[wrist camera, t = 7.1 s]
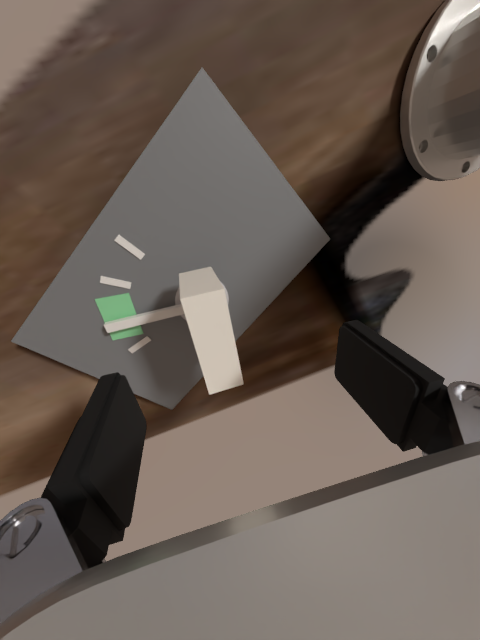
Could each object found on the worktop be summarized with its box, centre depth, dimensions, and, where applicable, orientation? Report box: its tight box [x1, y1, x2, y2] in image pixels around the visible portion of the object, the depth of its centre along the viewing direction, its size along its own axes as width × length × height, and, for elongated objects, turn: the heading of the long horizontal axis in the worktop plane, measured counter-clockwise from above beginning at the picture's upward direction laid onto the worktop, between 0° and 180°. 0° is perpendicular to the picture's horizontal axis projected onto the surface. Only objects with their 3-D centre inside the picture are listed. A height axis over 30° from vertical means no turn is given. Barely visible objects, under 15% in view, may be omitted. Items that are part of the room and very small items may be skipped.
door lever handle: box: [104, 267, 244, 395], centre depth 15 cm, size 6×9×7 cm
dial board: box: [11, 68, 330, 410], centre depth 19 cm, size 22×14×2 cm, turn 137°
